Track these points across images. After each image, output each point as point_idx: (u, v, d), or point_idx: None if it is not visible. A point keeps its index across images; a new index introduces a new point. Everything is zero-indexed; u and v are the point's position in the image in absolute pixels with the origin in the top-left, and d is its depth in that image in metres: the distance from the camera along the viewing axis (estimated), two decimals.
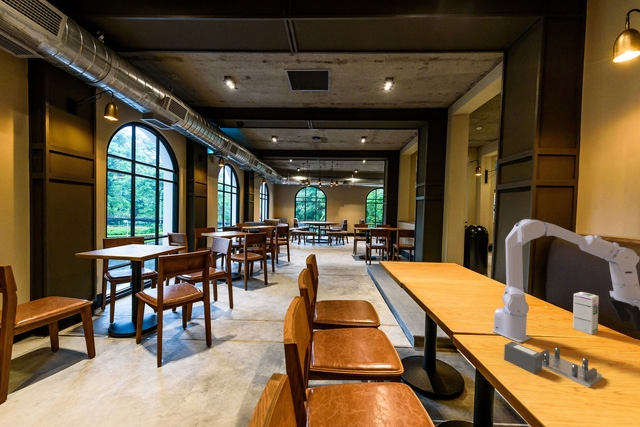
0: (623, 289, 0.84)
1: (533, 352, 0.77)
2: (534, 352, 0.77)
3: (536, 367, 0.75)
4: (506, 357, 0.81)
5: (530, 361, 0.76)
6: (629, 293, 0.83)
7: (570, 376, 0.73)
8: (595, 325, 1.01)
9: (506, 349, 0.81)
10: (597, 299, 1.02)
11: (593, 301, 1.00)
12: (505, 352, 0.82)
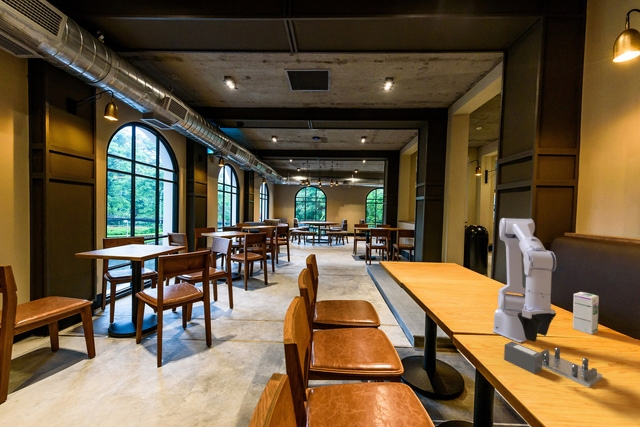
0: (527, 295, 0.77)
1: (533, 352, 0.77)
2: (534, 352, 0.77)
3: (536, 367, 0.75)
4: (506, 357, 0.81)
5: (530, 361, 0.76)
6: (530, 300, 0.76)
7: (570, 376, 0.73)
8: (595, 325, 1.01)
9: (506, 349, 0.81)
10: (597, 299, 1.02)
11: (593, 301, 1.00)
12: (505, 352, 0.82)
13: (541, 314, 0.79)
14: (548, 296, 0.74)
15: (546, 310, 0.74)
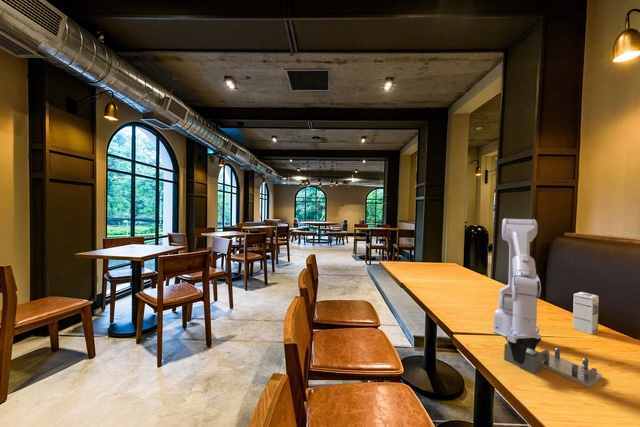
0: (513, 319, 0.80)
1: (533, 352, 0.77)
2: (534, 352, 0.77)
3: (537, 367, 0.75)
4: (506, 357, 0.81)
5: (530, 360, 0.76)
6: (516, 324, 0.79)
7: (570, 376, 0.73)
8: (595, 325, 1.01)
9: (506, 349, 0.81)
10: (597, 299, 1.02)
11: (593, 301, 1.00)
12: (505, 352, 0.82)
13: (526, 338, 0.80)
14: (533, 321, 0.76)
15: (531, 335, 0.76)
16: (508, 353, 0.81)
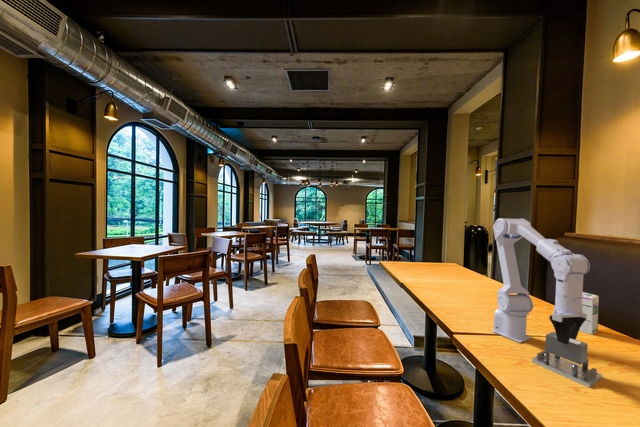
0: (557, 298, 0.77)
1: (577, 342, 0.75)
2: (578, 342, 0.75)
3: (582, 357, 0.73)
4: (548, 348, 0.79)
5: (575, 350, 0.74)
6: (561, 303, 0.76)
7: (570, 376, 0.73)
8: (595, 325, 1.01)
9: (548, 339, 0.79)
10: (597, 299, 1.02)
11: (593, 301, 1.00)
12: (546, 342, 0.80)
13: (570, 318, 0.78)
14: (580, 300, 0.74)
15: (577, 314, 0.74)
16: (550, 344, 0.79)
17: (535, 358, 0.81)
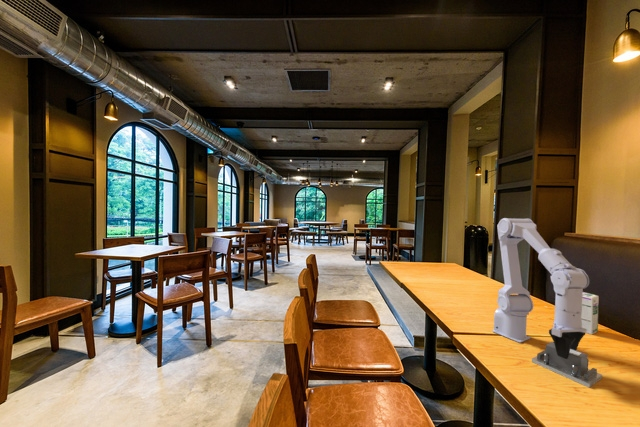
0: (556, 312, 0.78)
1: (577, 353, 0.75)
2: (578, 353, 0.75)
3: (582, 368, 0.73)
4: None
5: (575, 361, 0.74)
6: (560, 318, 0.76)
7: (570, 376, 0.73)
8: (595, 325, 1.01)
9: (547, 350, 0.79)
10: (597, 299, 1.02)
11: (593, 301, 1.00)
12: None
13: (569, 332, 0.78)
14: (579, 315, 0.74)
15: (577, 329, 0.74)
16: (550, 354, 0.79)
17: (535, 358, 0.81)
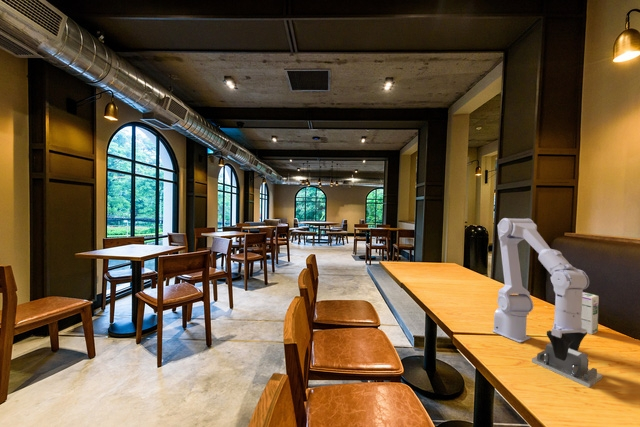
0: (556, 313, 0.78)
1: (577, 353, 0.75)
2: (578, 353, 0.75)
3: (582, 368, 0.73)
4: None
5: (575, 361, 0.74)
6: (560, 318, 0.76)
7: (570, 376, 0.73)
8: (595, 325, 1.01)
9: (548, 349, 0.79)
10: (597, 299, 1.02)
11: (593, 301, 1.00)
12: None
13: (571, 332, 0.79)
14: (579, 315, 0.74)
15: (577, 329, 0.74)
16: (550, 354, 0.79)
17: (535, 358, 0.81)
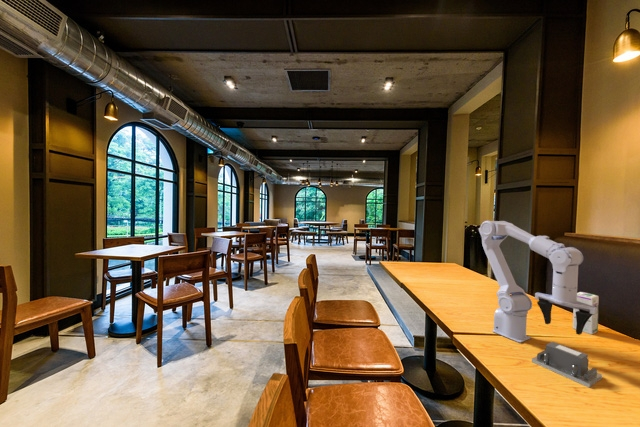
0: None
1: (577, 353, 0.75)
2: (578, 353, 0.75)
3: (582, 368, 0.73)
4: None
5: (575, 361, 0.74)
6: None
7: (570, 376, 0.73)
8: (595, 325, 1.01)
9: (548, 349, 0.79)
10: (597, 299, 1.02)
11: (593, 301, 1.00)
12: None
13: None
14: (557, 287, 0.82)
15: (554, 299, 0.83)
16: (550, 354, 0.79)
17: (535, 358, 0.81)
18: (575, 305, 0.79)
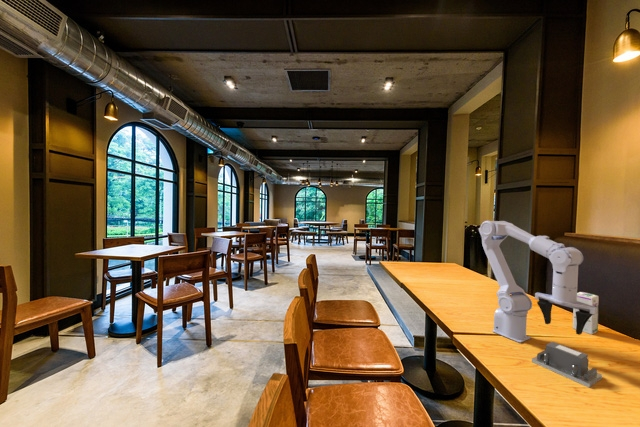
0: None
1: (577, 353, 0.75)
2: (578, 353, 0.75)
3: (582, 368, 0.73)
4: None
5: (575, 361, 0.74)
6: None
7: (570, 376, 0.73)
8: (595, 325, 1.01)
9: (548, 349, 0.79)
10: (597, 299, 1.02)
11: (593, 301, 1.00)
12: None
13: None
14: (557, 287, 0.82)
15: (554, 299, 0.83)
16: (550, 354, 0.79)
17: (535, 358, 0.81)
18: (575, 305, 0.79)
